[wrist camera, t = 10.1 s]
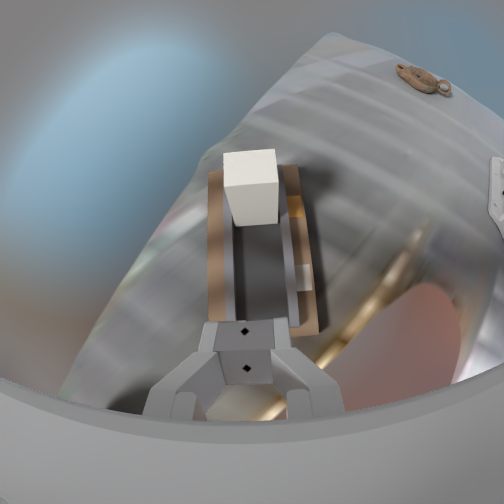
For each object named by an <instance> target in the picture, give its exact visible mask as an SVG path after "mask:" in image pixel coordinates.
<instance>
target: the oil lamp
mask: <svg viewBox="0 0 504 504" xmlns="http://www.w3.org/2000/svg"><path fill="white" fill-rule="evenodd" d="M396 72H397V74H398V75H399V76H400V77H401V78H402V79H404V80H405V81H406V82H407V83H409V84H410V85H411V86H412V87H414V88H415V89H417V90H419V91H421V92H424V93H431V92H434V91H435V90H438V91H439V92H440V93H442V94H449V93H450V92H451V85H450V83H449V82H448V81H446V80H440V81H439V82H438V81H437V79H436V78H435V77H434V76H432V75H431V74H430V73H428V72H427V71H425V70H423V69H420V68H416V67H413V66H410V67H406V66H403V65H402V64H398V65H396ZM441 84H446V85H447V86H448V87H449V89H448V90H447V91H444V90H442V89H440V85H441Z"/></svg>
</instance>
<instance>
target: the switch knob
mask: <svg viewBox="0 0 504 504" xmlns="http://www.w3.org/2000/svg"><path fill="white" fill-rule="evenodd" d="M224 189H225V193H226V196H227V199H228V203H229V206H230V209H231V213H232V216H233V220H234V223H235V226H236V227H239V226H251V225H264V224H277V223H278V192H279V181H278V173H277V165H276V157H275V149H266V150H253V151H242V152H232V153H224Z"/></svg>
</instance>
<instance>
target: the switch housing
mask: <svg viewBox="0 0 504 504" xmlns="http://www.w3.org/2000/svg"><path fill="white" fill-rule="evenodd" d="M277 173H278V181H279V192H278V223H277V224H264V225H251V226H239V227H236V226H235V223H234V220H233V216H232V213H231V209H230V206H229V203H228V199H227V196H226V193H225V189H224V169H223V170H220V171H211V172H209V177H208V317H209V321H242V320H261V319H273V318H281V317H287V318H288V324H289V331H290V338H293V337H304V336H314V335H319V327H318V316H317V305H316V295H315V286H314V277H313V268H312V260H311V252H310V244H309V237H308V230H307V223H306V216H305V209H304V203H303V196H302V190H301V184H300V178H299V172H298V166H297V164H295V165H277Z"/></svg>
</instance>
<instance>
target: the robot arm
mask: <svg viewBox="0 0 504 504" xmlns="http://www.w3.org/2000/svg"><path fill="white" fill-rule="evenodd" d="M488 212H489V214H490V216H491V217H492V219H493V220H494V222H495V223H496V224H497V226H498V228H499V230H500V232H501V234H502V237H503V239H504V159H502V158H500V157H492V158H491V159H490V186H489V202H488ZM244 384H273V385H274V386H275V388H276V389H277V390H278V391H279V393H280V394H281V395H282V396H283V398H284V399H285V400H286V401H287V419H286V420H271V421H207V419H206V417H205V413H206V411H207V410H208V409H209V408H210V407H211V405H212V404H213V403H214V402H215V400H216V399H217V398H218V397H219V395H220V394H221V393H222V392H223V390H224V389H225V388H226V385H244ZM0 504H504V363H502V364H500V365H498V366H496V367H494V368H492V369H489V370H487V371H485V372H483V373H480V374H478V375H476V376H473V377H471V378H468V379H466V380H463V381H460V382H458V383H455V384H452V385H449V386H447V387H444V388H441V389H438V390H435V391H432V392H428V393H425V394H422V395H419V396H415V397H411V398H408V399H404V400H400V401H396V402H393V403H388V404H384V405H379V406H375V407H370V408H366V409H360V410H355V411H349V412H345V409H344V405H343V401H342V396H341V392H340V388H339V385H338V383H337V382H336V381H335V380H333V379H332V378H331V377H330V376H328V375H327V374H326V373H325V372H324V371H323V370H321V369H320V368H319V367H318V366H317V365H316V364H314V363H313V362H312V361H311V360H310V359H308V358H307V357H306V356H305V355H304V354H303V353H302V352H300V351H299V350H298V349H297V348H292V346H291V339H290V331H289V324H288V318H287V317H281V318H273V319H261V320H242V321H206V322H205V324H204V327H203V332H202V336H201V340H200V345H199V349H198V352H193V353H192V354H191V355H190V356H189V357H187V358H186V359H185V360H184V361H183V362H182V363H180V364H179V365H178V366H177V367H176V368H175V369H173V370H172V371H171V372H170V373H169V374H167V375H166V376H165V377H164V378H163V379H161V380H160V381H159V382H158V383H157V384H155V385H154V386H153V387H152V388H151V389H150V392H149V395H148V398H147V401H146V404H145V407H144V410H143V413H142V415H137V414H130V413H124V412H118V411H113V410H108V409H103V408H98V407H93V406H89V405H84V404H80V403H76V402H72V401H69V400H65V399H61V398H58V397H54V396H51V395H48V394H45V393H41V392H38V391H35V390H32V389H29V388H27V387H24V386H21V385H18V384H15V383H13V382H10V381H8V380H5V379H3V378H1V377H0Z"/></svg>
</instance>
